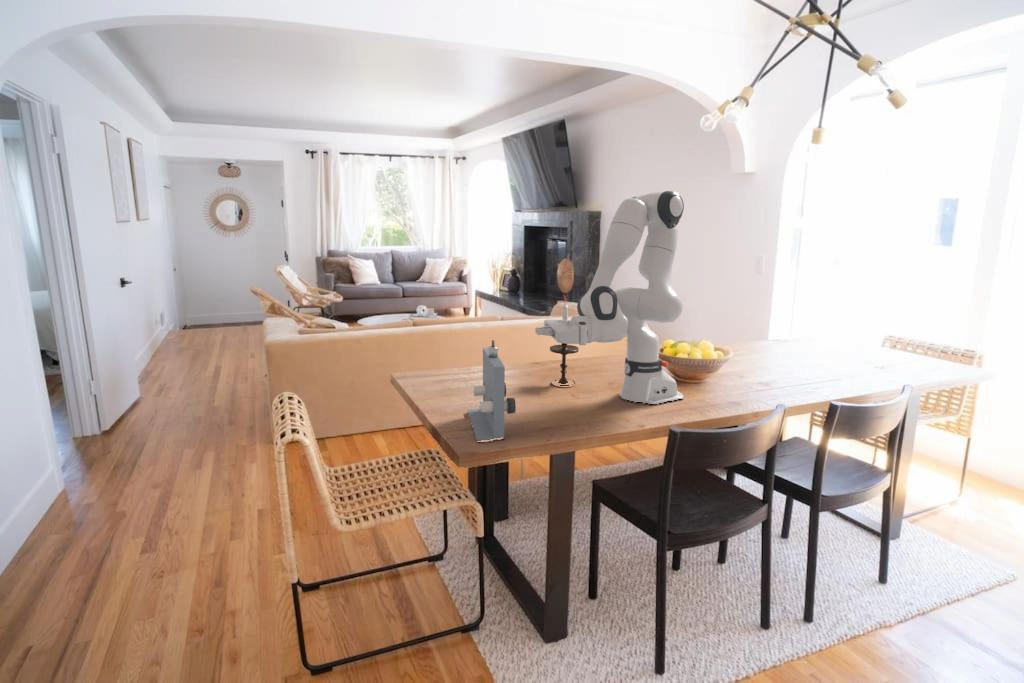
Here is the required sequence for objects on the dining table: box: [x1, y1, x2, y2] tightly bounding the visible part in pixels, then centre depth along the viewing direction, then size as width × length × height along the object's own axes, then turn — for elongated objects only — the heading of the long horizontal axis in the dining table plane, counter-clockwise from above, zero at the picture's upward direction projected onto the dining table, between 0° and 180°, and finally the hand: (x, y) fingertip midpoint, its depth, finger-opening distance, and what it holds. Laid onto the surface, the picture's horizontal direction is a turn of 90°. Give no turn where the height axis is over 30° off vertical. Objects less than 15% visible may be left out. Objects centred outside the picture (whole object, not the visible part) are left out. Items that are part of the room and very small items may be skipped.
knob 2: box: [479, 397, 517, 415], centre depth 171 cm, size 10×5×5 cm, turn 100°
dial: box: [487, 339, 499, 358], centre depth 175 cm, size 3×3×5 cm
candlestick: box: [549, 294, 580, 386], centre depth 221 cm, size 11×11×35 cm
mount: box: [467, 347, 506, 442], centre depth 178 cm, size 8×26×22 cm, turn 10°
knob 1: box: [472, 383, 507, 398], centre depth 186 cm, size 10×5×5 cm, turn 100°
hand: (536, 331), depth 185 cm, fingers closed
